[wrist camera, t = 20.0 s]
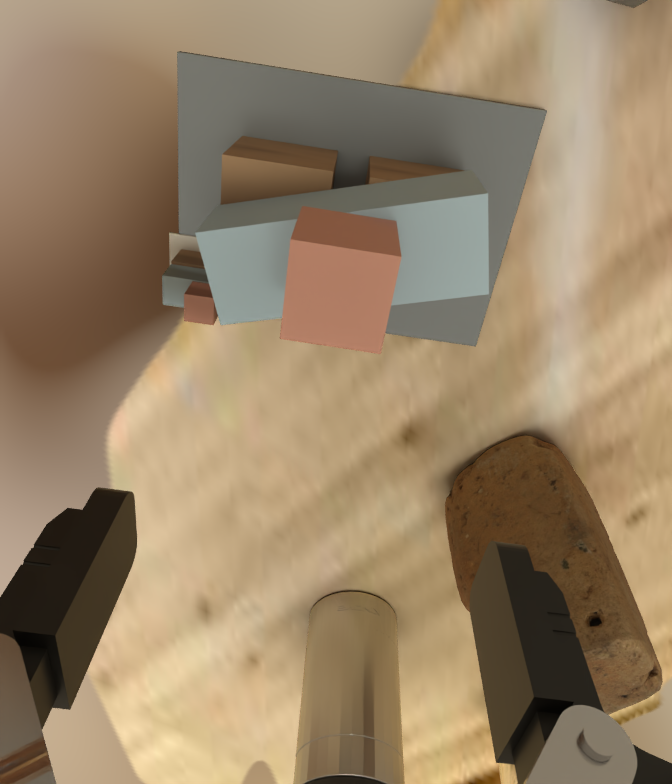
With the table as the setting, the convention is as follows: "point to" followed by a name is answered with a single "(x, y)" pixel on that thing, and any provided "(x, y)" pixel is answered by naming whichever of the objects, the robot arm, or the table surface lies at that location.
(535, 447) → the block
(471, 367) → the table surface
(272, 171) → the base cube
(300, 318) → the terracotta cube
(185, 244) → the model
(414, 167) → the base cube
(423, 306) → the grey flat sheet
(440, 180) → the lintel
